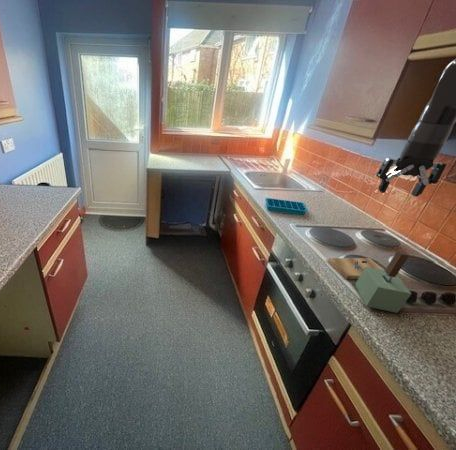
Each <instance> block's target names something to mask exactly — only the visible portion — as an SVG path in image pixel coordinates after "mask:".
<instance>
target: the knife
mask: <svg viewBox="0 0 456 450" xmlns="http://www.w3.org/2000/svg"><path fill="white" fill-rule="evenodd" d="M409 257H410V254H409V253H408V252H407V251H406V250H403V249H402V250H401V249H397V250H396V252H395V253H394V255H393V256H392V258H391V260H390V262H388V265H387V267H386V268H385V269H384V270H385V272H386V273H385V275H384V277H383V278H384V279H385V281H386V282H388V283H390V281H391V279H392V278H393V277H396V275H397V276H398V274H399V272H400V271H401V269H402V268H403V266H404V265H405V263H406V262H407V260H408V258H409Z"/></svg>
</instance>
